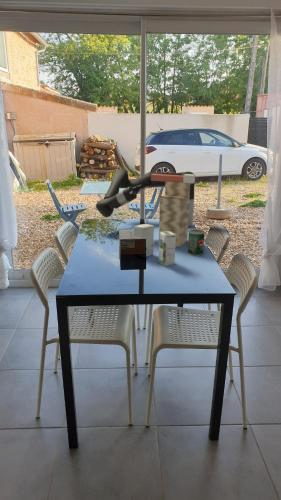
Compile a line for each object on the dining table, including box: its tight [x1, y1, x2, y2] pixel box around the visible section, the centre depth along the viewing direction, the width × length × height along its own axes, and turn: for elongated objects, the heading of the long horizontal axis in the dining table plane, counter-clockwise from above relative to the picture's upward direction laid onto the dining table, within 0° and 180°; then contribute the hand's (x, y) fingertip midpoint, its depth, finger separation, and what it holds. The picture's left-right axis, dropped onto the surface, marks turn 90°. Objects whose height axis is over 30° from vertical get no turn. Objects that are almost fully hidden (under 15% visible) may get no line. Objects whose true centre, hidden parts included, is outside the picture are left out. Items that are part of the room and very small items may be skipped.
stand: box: [158, 182, 190, 248], centre depth 197 cm, size 12×13×32 cm
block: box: [151, 173, 196, 183], centre depth 196 cm, size 23×4×4 cm, turn 67°
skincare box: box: [133, 223, 155, 257], centre depth 180 cm, size 8×6×15 cm
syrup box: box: [158, 231, 176, 267], centre depth 170 cm, size 6×6×14 cm
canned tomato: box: [187, 229, 206, 256], centre depth 184 cm, size 8×8×11 cm
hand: (150, 182), depth 201 cm, fingers open, 8 cm apart
